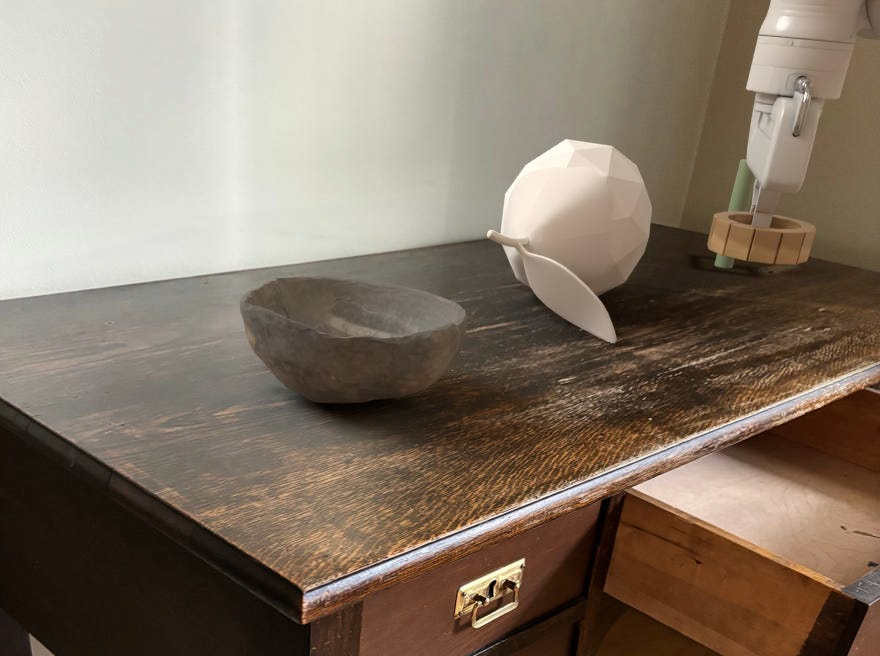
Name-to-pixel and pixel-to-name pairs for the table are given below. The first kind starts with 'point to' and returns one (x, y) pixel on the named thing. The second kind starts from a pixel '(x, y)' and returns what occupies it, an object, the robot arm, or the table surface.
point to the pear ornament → (576, 229)
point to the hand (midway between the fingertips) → (757, 227)
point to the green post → (738, 202)
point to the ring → (761, 238)
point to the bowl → (352, 336)
